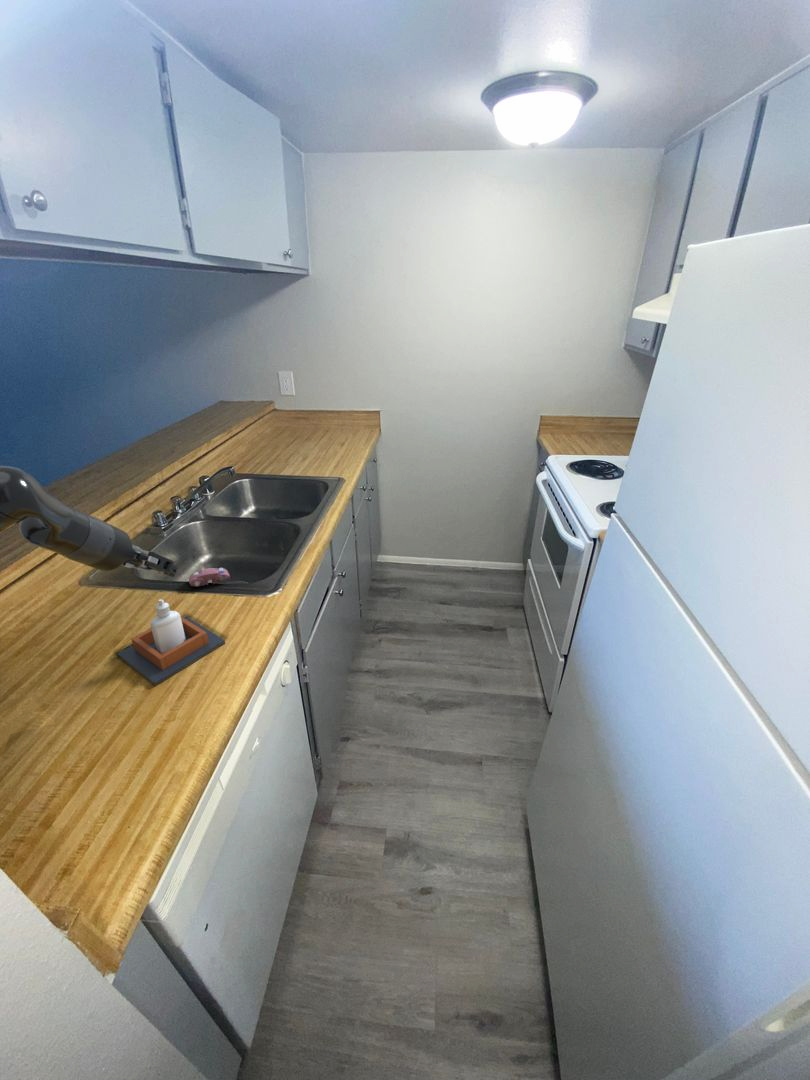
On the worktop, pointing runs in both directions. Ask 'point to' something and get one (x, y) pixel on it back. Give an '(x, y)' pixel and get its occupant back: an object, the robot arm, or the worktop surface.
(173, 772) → the worktop surface
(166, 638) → the eye dropper bottle
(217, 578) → the pink toy car
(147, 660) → the socket pad
